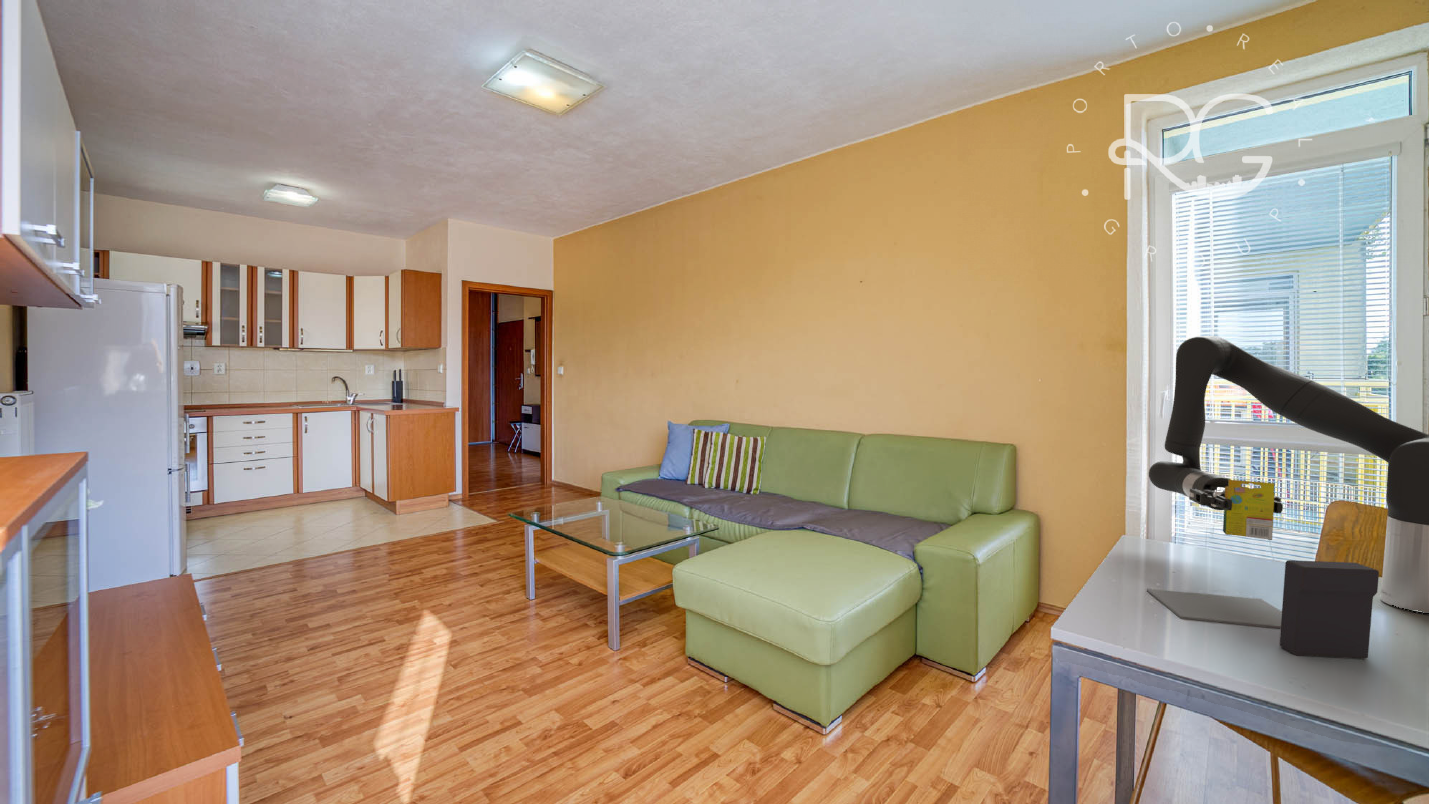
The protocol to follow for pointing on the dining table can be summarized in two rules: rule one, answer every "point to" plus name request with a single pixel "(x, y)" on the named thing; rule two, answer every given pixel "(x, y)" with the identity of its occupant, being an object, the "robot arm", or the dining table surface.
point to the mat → (1220, 608)
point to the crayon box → (1249, 510)
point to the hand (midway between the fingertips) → (1254, 506)
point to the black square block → (1327, 608)
